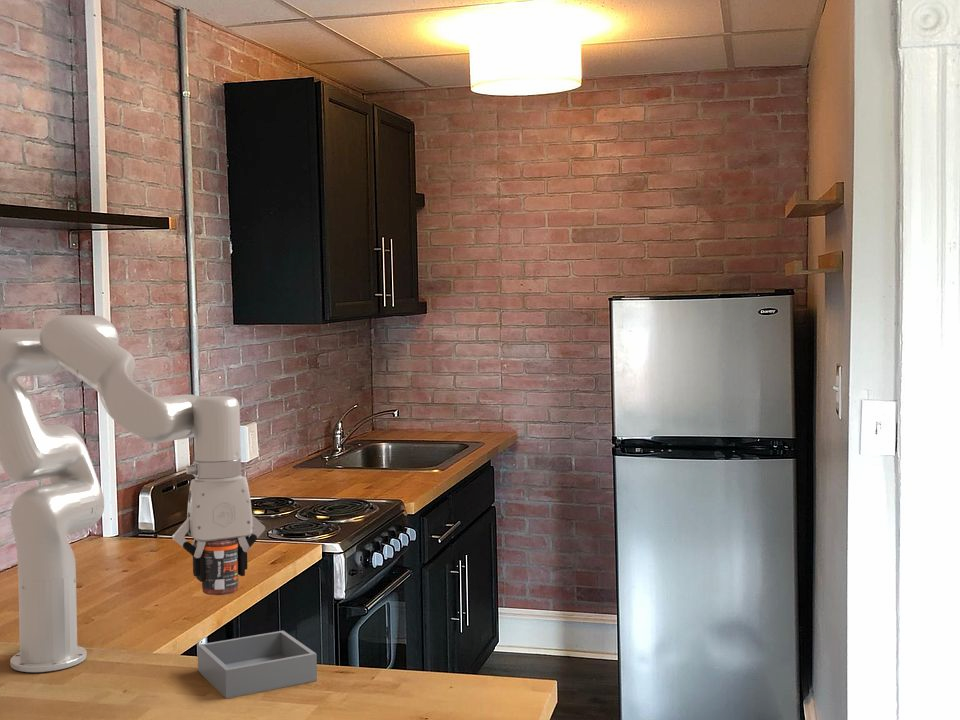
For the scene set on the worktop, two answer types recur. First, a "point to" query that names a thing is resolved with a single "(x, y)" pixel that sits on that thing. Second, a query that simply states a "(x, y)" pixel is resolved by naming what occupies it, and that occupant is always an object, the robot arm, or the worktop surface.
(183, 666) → the worktop surface
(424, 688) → the worktop surface
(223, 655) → the bin
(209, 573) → the supplement bottle
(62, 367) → the robot arm
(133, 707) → the worktop surface
